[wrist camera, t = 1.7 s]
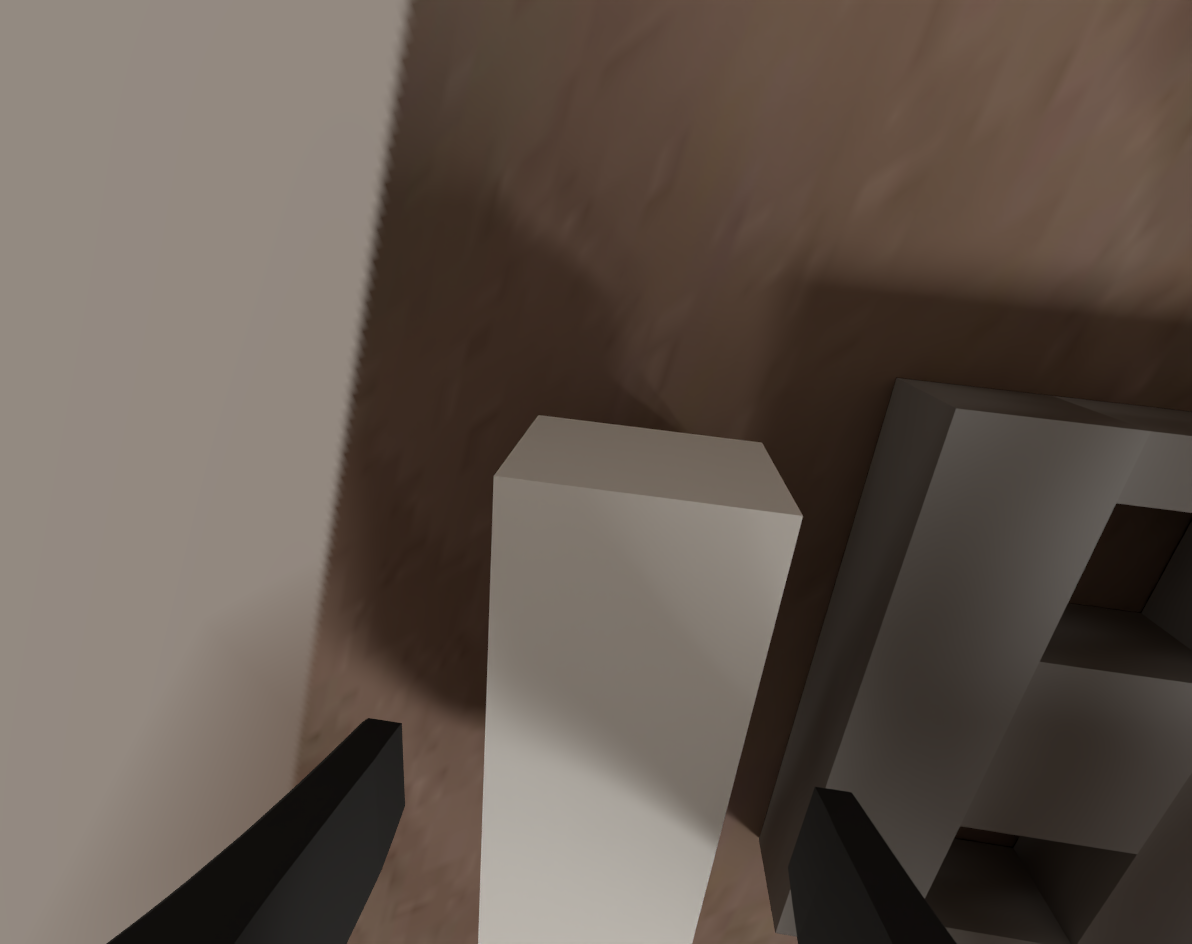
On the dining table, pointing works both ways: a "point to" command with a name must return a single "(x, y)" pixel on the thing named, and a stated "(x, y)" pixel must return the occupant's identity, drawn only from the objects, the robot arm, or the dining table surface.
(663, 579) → the cream rectangular block
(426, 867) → the dining table surface
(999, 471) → the socket board
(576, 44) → the dining table surface
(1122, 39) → the dining table surface
